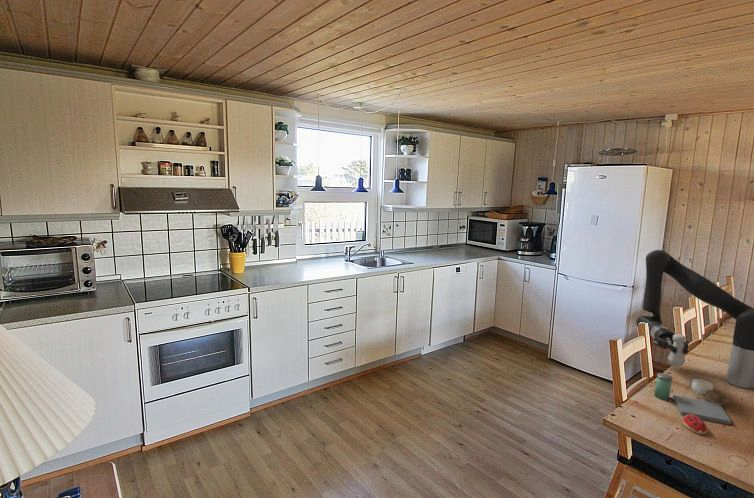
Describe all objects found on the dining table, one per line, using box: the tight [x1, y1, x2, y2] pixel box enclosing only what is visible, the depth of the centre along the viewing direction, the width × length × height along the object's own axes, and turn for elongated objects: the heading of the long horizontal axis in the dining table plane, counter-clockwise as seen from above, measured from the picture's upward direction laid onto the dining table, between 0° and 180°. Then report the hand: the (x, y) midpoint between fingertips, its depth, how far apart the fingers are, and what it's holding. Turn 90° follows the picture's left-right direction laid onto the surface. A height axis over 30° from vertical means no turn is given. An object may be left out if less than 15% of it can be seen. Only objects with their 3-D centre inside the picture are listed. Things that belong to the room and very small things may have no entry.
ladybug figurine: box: [682, 414, 708, 435], centre depth 149 cm, size 7×10×4 cm
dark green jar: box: [653, 372, 673, 401], centre depth 169 cm, size 5×5×9 cm
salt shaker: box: [667, 333, 687, 368], centre depth 173 cm, size 6×6×13 cm
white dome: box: [690, 378, 714, 397], centre depth 174 cm, size 7×7×4 cm
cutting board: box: [672, 394, 732, 426], centre depth 160 cm, size 15×13×2 cm
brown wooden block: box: [705, 389, 730, 407], centre depth 166 cm, size 5×5×4 cm
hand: (680, 351), depth 170 cm, fingers closed on salt shaker, 3 cm apart
